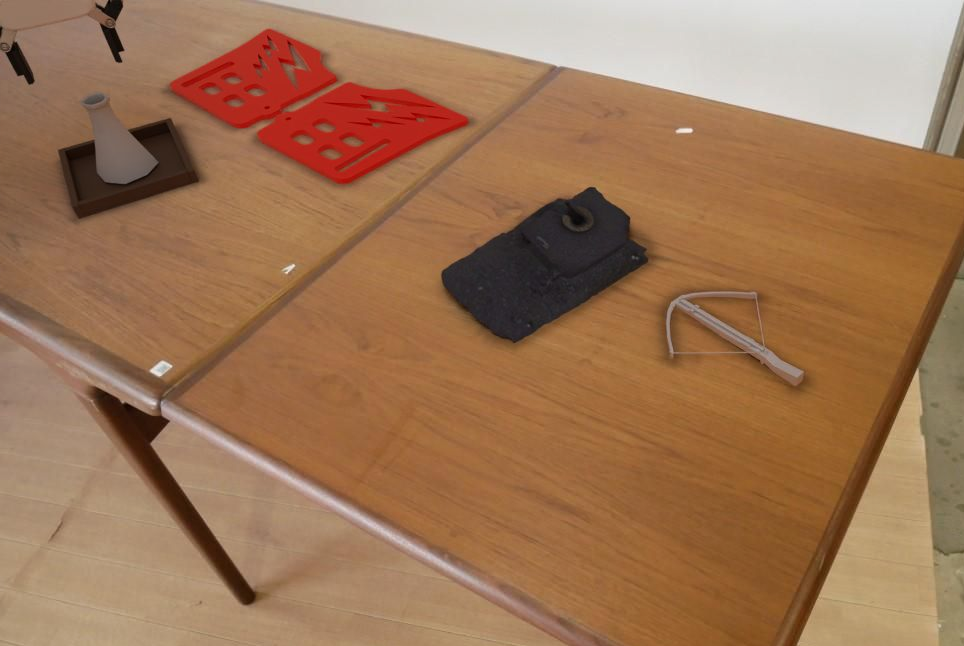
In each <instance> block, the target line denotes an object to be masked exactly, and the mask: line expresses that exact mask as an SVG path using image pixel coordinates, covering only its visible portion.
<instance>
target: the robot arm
mask: <svg viewBox="0 0 964 646" xmlns="http://www.w3.org/2000/svg"><path fill="white" fill-rule="evenodd" d="M123 8H124V0H107V1H106V4H105V5H102V4H100V3H98V2H97V1H96V0H0V51H1V52H3V53H5V56H6V57H7V59H8V61H9V63H10V65H11V67H12V69H13V71H14V72H15V74H16V76H17V77H21V76H23V77H24V79H25V81H26V83H27V84H28V86H30V85H34V84H35V82H36V80H35V76H34V73H33V70H32V68H31V66H30V65H29V62H28V61H27V58H26V57H25V55H24V53H23V50H22V49H21V46H20V45H19V43H18V41H15V39H16V35H17V33H18V32H21V31H26V30H31V29H35V28H40V27H45V26H49V25H53V24H58V23H63V22H67V21H71V20H76V19H80V18H84V17H87V16H88V17H89V18H91V19H92V20H94V21H96V22H98V23H99V25H100V26H99V27H100V29H101V31H102V34H103V36H104V38H105V41H106V43H107V45H108V47H109V50H110V52H111V54H112V57H113V59H114V61H115V63H118V64H121V63H123V59H122V57H121V54H120V53H122V52H125V47H124V45H123V43H122V41H121V38H120V36H119V34H118V31H117V30H116V26H117V20H118V18H119V16H120V15H121V12H122V10H123Z"/></svg>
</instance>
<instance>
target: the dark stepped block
mask: <svg viewBox="0 0 964 646" xmlns="http://www.w3.org/2000/svg"><path fill="white" fill-rule="evenodd" d="M630 226H631V217H630V215H628V214H627V213H626V212H625V211H624V210H623V209H622V208H621V207H619V206H617V205H616V204H614V203H611V202H610V201H609V200H607V198H605V196H604V195H603V193H602V192H600V191H599V190H598V189H597V188H596V187H595V186H589V187H586V188H585V189H584V190H583V191H581V192H579V193H578V194H575V195H573V197H572V198H568V199H567V198H566V199H565V198H561V197H558V198H556V199H555V200H553V201H551V202H548V203H547V204H545V205H543V206H542V207H539V209H537V210H536V211H534V212H533V213H532V214H530V215H529V216H527V217H526V218H525V219H523V220H522V221H520V222H519V223H518V224H517V225H516V226H515V227H514V228H513V229H511V230H509V231H507V232H501V233H499V234H498V235H496V236H494V237H492V238H491V239H489V240H488V241H487V242H485V243H484V244H482V245H480V246H478V247H476V248H475V249H474V250H473V251H472V252H471V253H470V254H467V255H466V256H465V257H462V258H459V259H458V260H456V261H454V262H452V263H451V264H449V265H448V266H447V267H445V268H444V269H443V270H441V274H440V277H441V278H440V279H441V282H442V285H443V287H444V288H445V289H446V290H447V291H449V292H450V293H451V294H452V295H453V297H454V298H455V300H456V301H457V303H459V304H460V305H462V306H463V307H464V308H465V309H467V310H468V311H469V312H470V313H471V315H472V316H473V317H474V319H476V321H478V323H481V324H483V326H485V327H486V328H488V329H489V330H490V331H491V332H492V334H494V335H497V336H499V337H501V338H503V339H507V340H511V342H512V343H516V342H520V341H521V340H523V339H524V338H527V337H530V336H531V335H533V334H534V333H536V332H537V331H538V330H539V329H541V328H542V327H543V326H545V325H547V324H550V323H552V322H553V321H555V320H557V319H558V318H561V317H562V316H563V315H565V314H567V313H569V312H571V311H573V310H574V309H576V308H578V307H580V306H581V305H583V304H585V303H586V302H588V301H589V300H590V299H591V298H593V297H594V296H597V295H599V294H600V293H601V292H603V291H605V290H606V289H608V288H609V287H611V286H613V284H615V283H618V281H620V280H621V279H623V278H624V277H626V276H628V275H630V274H631V273H633V272H635V271H636V270H639V268H640V267H642V266H644V265H646V264H647V263H648V262H649V257H648V256H647V255H646V254H645V252H646V251H647V250H648V248H646V247H644V246H642V245H641V244H639V243H638V242H636V241H635V240H633V239H631V238H629V237H628V235H629V232H630V230H631V227H630Z"/></svg>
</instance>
